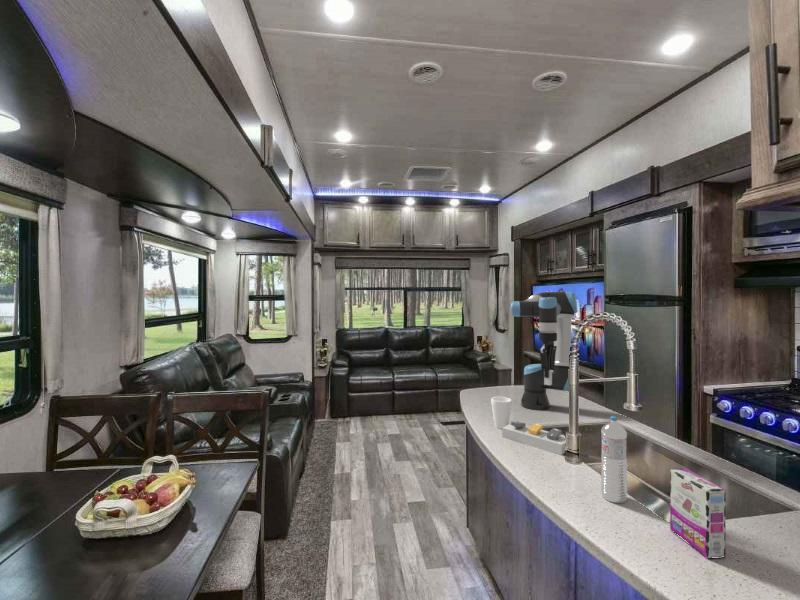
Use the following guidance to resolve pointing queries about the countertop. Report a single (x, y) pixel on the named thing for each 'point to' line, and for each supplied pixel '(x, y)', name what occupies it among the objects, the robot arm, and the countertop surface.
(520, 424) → the rocker
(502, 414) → the foam cup
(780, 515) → the countertop surface
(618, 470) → the water bottle
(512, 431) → the grey tray
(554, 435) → the rocker
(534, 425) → the yellow sponge
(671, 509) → the candy bar box
